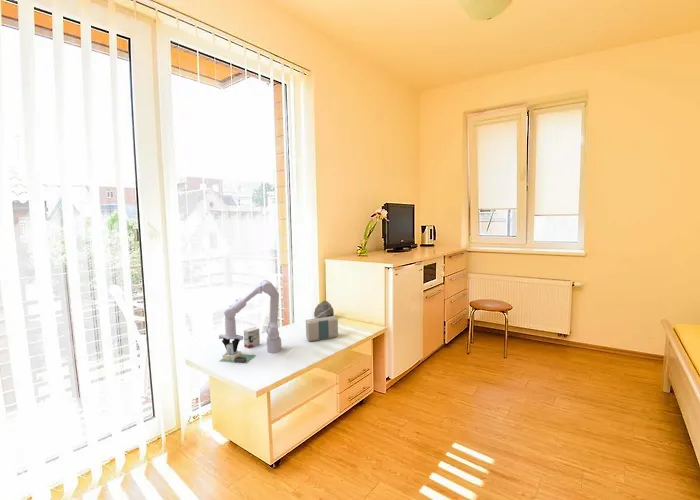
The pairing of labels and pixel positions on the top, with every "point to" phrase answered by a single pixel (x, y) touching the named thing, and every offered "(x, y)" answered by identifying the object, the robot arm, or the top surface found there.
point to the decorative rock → (323, 310)
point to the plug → (230, 349)
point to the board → (248, 357)
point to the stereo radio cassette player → (321, 328)
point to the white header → (231, 356)
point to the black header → (239, 359)
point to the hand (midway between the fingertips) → (231, 351)
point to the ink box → (251, 337)
